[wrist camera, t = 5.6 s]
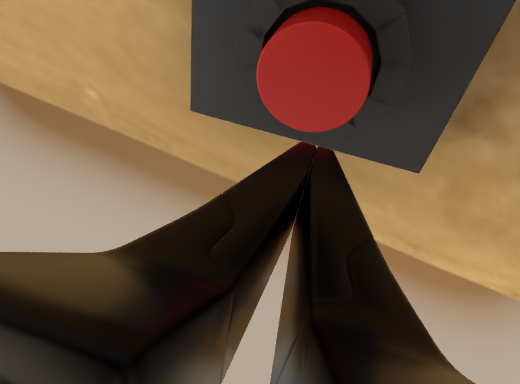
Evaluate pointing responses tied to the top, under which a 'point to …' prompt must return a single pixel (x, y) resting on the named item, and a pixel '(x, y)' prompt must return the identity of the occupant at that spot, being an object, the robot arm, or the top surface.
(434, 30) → the grey button base
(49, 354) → the robot arm
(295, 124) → the power button
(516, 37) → the top surface
